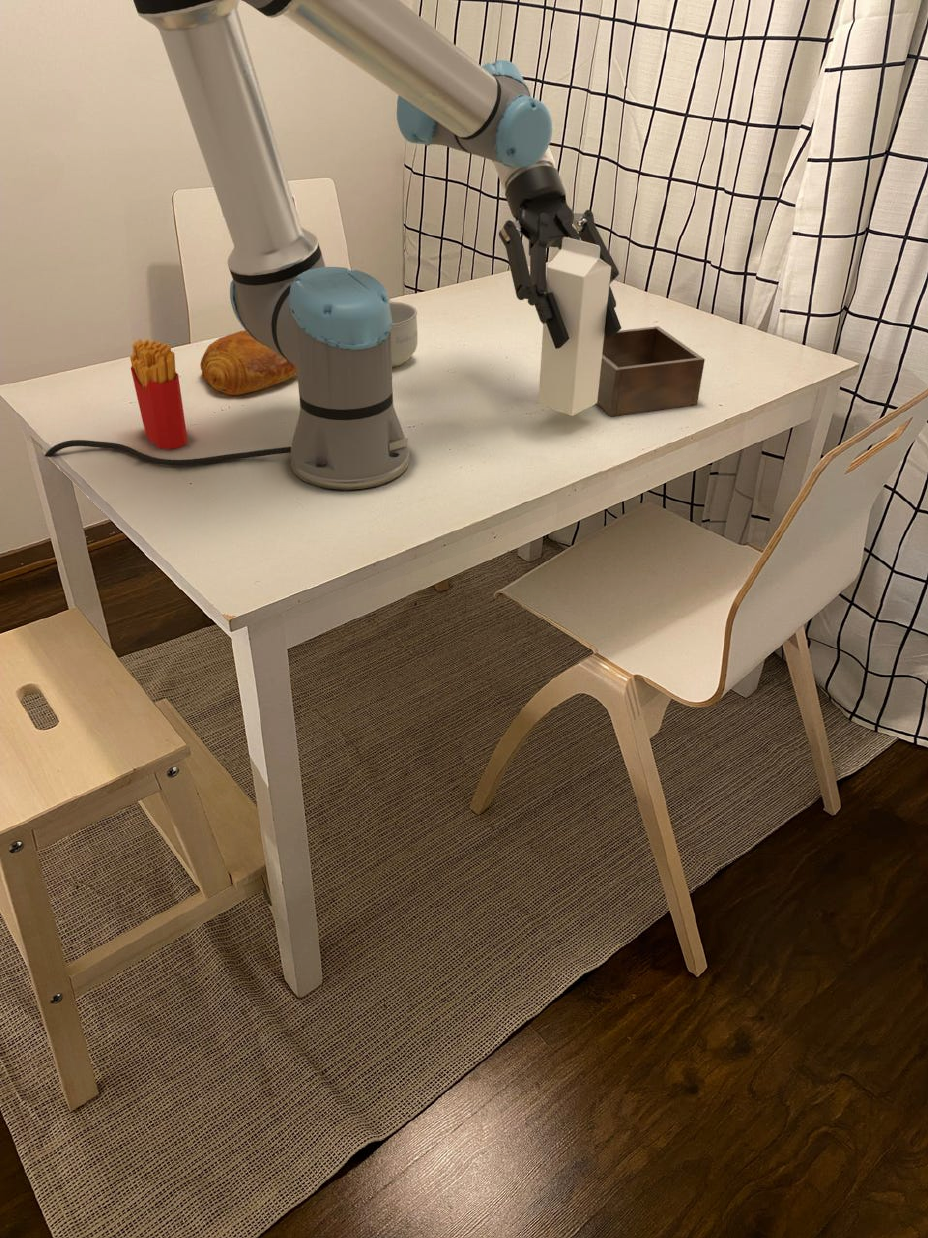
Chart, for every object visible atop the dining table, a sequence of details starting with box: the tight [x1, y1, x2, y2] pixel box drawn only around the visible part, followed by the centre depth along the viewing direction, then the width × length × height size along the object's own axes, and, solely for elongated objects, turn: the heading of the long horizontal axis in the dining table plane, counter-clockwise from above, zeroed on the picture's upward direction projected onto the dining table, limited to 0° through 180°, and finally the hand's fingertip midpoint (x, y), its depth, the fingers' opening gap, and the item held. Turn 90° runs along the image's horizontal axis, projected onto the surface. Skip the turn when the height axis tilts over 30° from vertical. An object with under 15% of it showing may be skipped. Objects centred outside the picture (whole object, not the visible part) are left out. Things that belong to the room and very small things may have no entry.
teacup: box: [389, 298, 418, 368], centre depth 153 cm, size 14×11×8 cm
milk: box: [537, 237, 611, 417], centre depth 128 cm, size 6×6×22 cm
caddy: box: [596, 325, 705, 417], centre depth 143 cm, size 14×14×7 cm
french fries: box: [129, 338, 188, 450], centre depth 126 cm, size 9×4×13 cm, turn 39°
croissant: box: [199, 329, 297, 396], centre depth 146 cm, size 14×16×8 cm
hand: (588, 338), depth 126 cm, fingers closed on milk, 7 cm apart
